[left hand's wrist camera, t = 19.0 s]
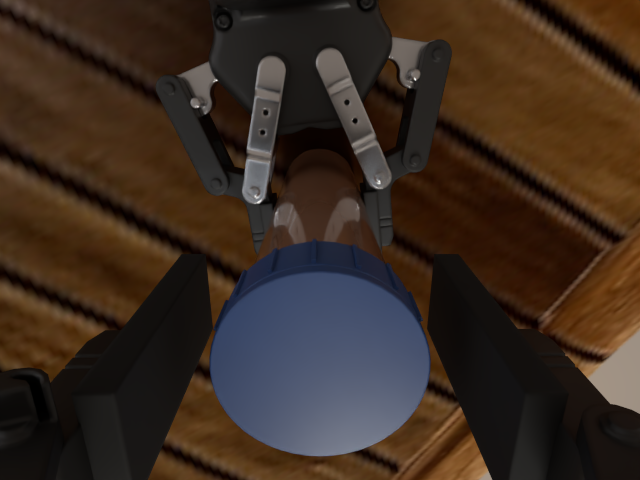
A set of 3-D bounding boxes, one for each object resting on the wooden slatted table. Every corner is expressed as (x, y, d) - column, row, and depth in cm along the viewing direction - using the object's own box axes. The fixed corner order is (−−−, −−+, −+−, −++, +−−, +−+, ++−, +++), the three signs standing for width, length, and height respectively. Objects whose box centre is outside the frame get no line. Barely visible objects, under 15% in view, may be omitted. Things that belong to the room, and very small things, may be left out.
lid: (282, 201, 11) (275, 226, 9) (454, 298, 12) (478, 338, 10) (192, 356, 12) (170, 403, 11) (349, 431, 13) (355, 486, 12)
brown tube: (330, 228, 30) (346, 450, 12) (273, 194, 29) (197, 377, 11) (367, 172, 29) (448, 327, 11) (308, 134, 28) (287, 234, 10)
